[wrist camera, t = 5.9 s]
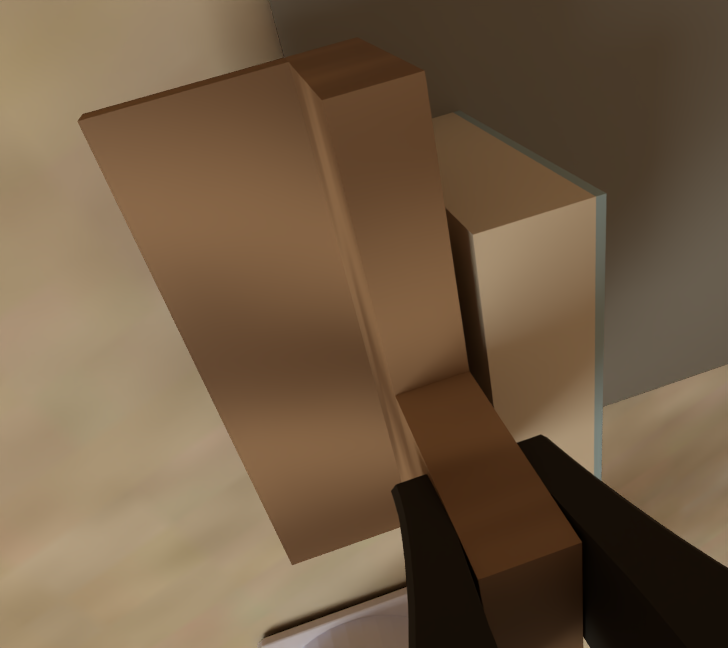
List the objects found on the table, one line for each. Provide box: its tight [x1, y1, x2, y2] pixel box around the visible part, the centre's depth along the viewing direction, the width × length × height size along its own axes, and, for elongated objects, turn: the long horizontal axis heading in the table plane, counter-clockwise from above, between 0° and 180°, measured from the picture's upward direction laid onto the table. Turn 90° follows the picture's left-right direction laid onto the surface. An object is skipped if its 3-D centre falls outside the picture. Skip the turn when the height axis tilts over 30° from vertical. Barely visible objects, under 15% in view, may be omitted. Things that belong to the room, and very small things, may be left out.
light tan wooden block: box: [432, 110, 606, 480], centre depth 15 cm, size 8×2×7 cm, turn 12°
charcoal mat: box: [269, 0, 728, 407], centre depth 19 cm, size 18×15×1 cm
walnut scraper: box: [78, 37, 583, 648], centre depth 12 cm, size 14×6×8 cm, turn 12°
